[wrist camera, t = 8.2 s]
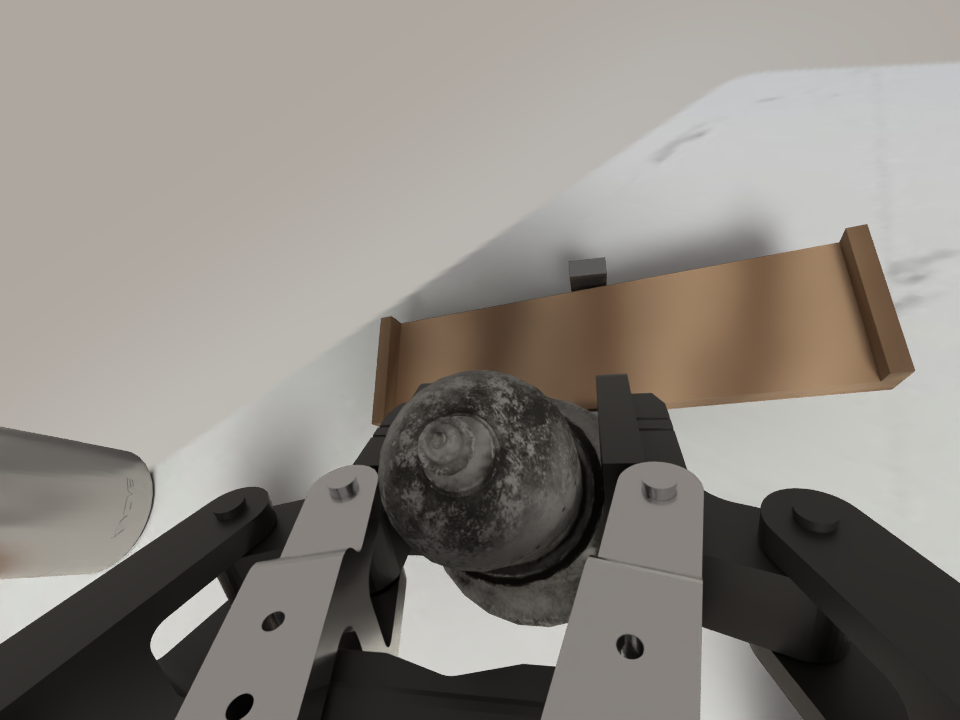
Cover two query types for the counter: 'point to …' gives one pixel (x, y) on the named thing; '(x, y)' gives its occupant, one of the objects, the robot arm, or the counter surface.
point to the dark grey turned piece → (498, 491)
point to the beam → (676, 334)
